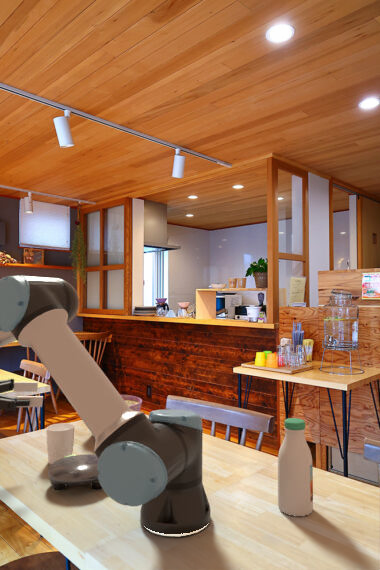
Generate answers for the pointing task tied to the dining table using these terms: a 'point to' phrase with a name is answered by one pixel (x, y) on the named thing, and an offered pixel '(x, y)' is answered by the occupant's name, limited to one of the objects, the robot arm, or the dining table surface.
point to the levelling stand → (74, 471)
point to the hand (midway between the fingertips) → (39, 393)
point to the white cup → (59, 441)
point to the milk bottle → (295, 471)
